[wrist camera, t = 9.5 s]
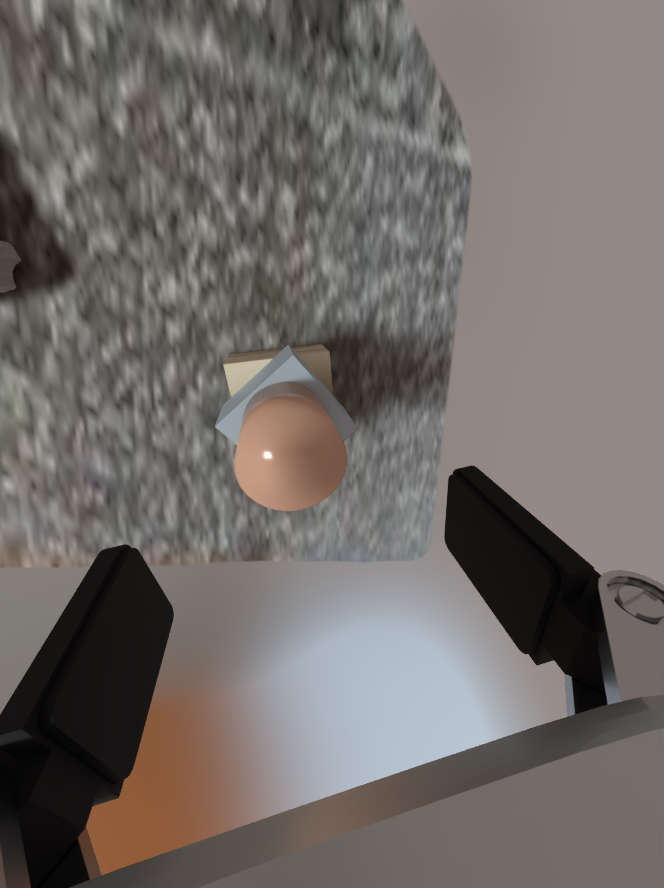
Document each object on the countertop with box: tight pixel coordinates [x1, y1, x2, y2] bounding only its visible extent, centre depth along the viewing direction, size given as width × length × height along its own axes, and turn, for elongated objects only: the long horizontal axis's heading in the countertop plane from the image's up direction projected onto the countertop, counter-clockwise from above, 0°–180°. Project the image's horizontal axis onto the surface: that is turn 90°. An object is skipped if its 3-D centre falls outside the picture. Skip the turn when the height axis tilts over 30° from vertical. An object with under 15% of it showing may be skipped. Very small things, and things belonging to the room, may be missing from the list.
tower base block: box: [223, 344, 333, 397], centre depth 24 cm, size 7×7×4 cm
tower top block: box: [215, 345, 358, 445], centre depth 20 cm, size 6×6×4 cm
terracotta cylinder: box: [235, 382, 347, 511], centre depth 16 cm, size 5×5×5 cm
